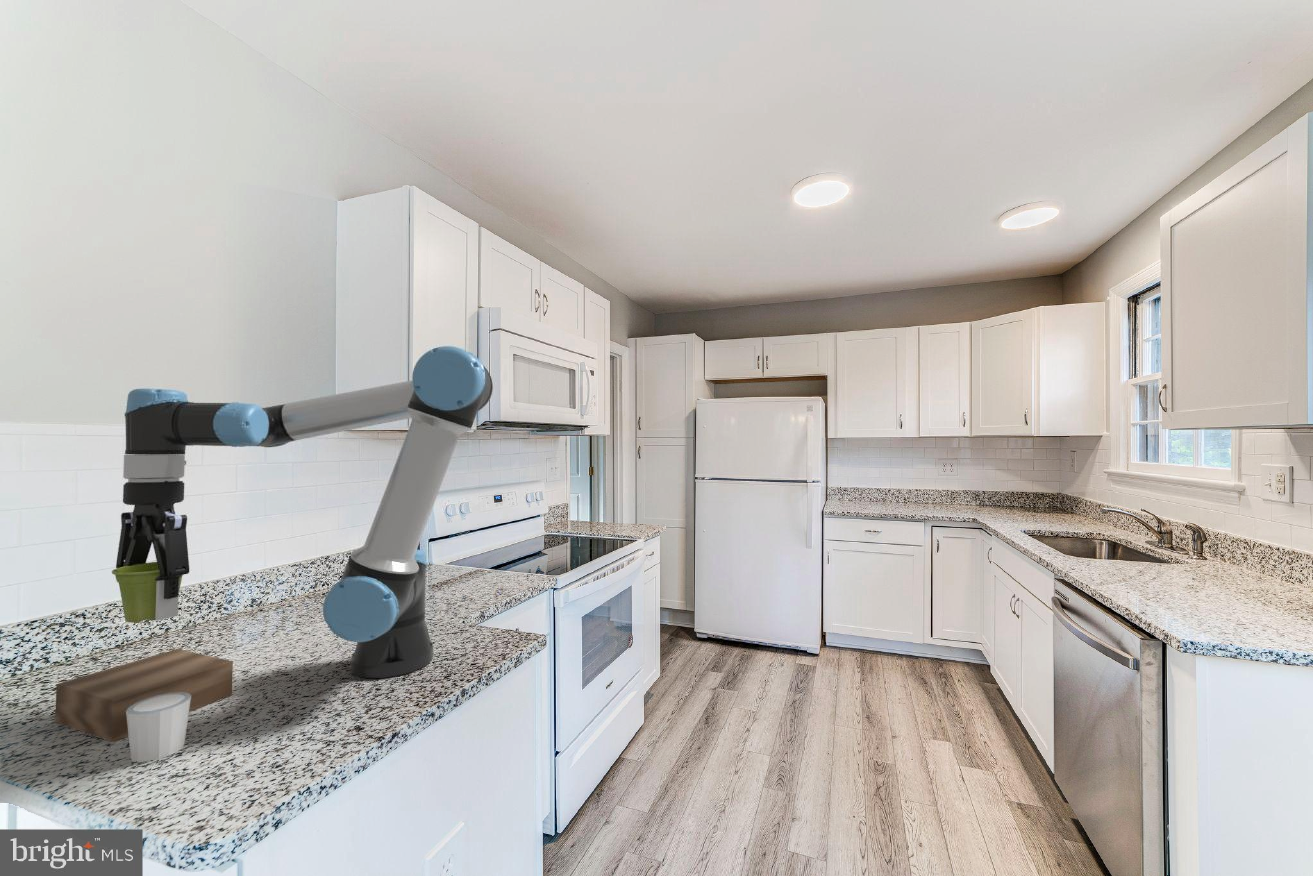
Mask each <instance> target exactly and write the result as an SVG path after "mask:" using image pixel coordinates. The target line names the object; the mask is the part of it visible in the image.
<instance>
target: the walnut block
mask: <svg viewBox="0 0 1313 876" xmlns="http://www.w3.org/2000/svg"><path fill="white" fill-rule="evenodd" d="M233 664H234V661H232V660H228V659H224V658H220V657H215V656H212V655H211V656H210V655H206V654H201V653H197V652H192V651H189V650H183V649H178V648H176V649H173V650H169V651H165V652H162V653H158V654H155V655H152V656H148V657H145V658H142V659H137V660H134V661H131V662H128V663H127V662H126V663H124V664H121V665H117V666H114V667H111V668H107V669H104V670H103V669H102V670H100V671H97V672H93V673H91V674H90V673H89V674H87V675H83V676H79V677H77V678H74V679H73V678H72V679H70V680H66V681H63V682H59V683H56V686H55V689H56V690H55V717H54V723H57V724H60V725H62V726H64V727H65V726H66V727H68V728H71V729H74V730H77V731H79V732H82V733H86V734H88V735H92V736H95V737H97V736H98V737H97V738H101V739H103V738H105V739H104V740H106V739H107V741H109V740H110V741H109V742H112V743H115V742H117V741H119V739H120V740H121V738H122V739H124V738H127V737H129V735H128V725H127V715H126V711H127V709H128V708H129V707H130V706H132V705H133V704H135V703H137V702H139V701H142V700H144V699H147V698H150V697H154V696H157V695H162V694H167V693H176V692H185V693H189V694H190V695H191V701H190V708H189V713H191V712H193V711H195V710H199V709H200V708H204V707H206V706H208V704H209V705H210V704H213V703H216V702H219V701H221V700H223V699H226V698H225V697H227V698H228V697H229V698H230V697H231V695H232V696H233V672H234V671H233V669H234V667H233V666H234V665H233ZM220 699H221V700H220ZM218 700H219V701H218ZM114 741H115V742H114Z"/></svg>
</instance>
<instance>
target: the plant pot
mask: <svg viewBox="0 0 1313 876" xmlns="http://www.w3.org/2000/svg"><path fill="white" fill-rule="evenodd" d="M159 572H160V570H159V568H158V564H157V561H152V562H146V563H144V564H136V565H132V566H124V567H120V568H115V569H113V570H111V574H112V575H114V577H115V580H116V583H118V586H119V591H120V597H121V603H122V609H123V611H124V614H123V616H124V620H125V622H126V623H132V624H137V623H141V622H144V621H151V622H153V621H156V620H155V614H156V583H157V581H156V580H155V578H157V577H159V576H160V573H159ZM182 579H183V575H182V576H181V577H179V591H180V589H181V584H182Z"/></svg>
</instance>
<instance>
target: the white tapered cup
mask: <svg viewBox="0 0 1313 876" xmlns="http://www.w3.org/2000/svg"><path fill="white" fill-rule="evenodd" d="M190 701H191V695H190V694H189V693H185V692H176V693H167V694H162V695H157V696H154V697H150V698H147V699H144V700H142V701H139V702H137V703H135V704H133V705H132V706H130V707H129V708H128V709H127V711H126V715H127V725H128V735H129V736H128V743H129V755H130V760H131V759H132V760H133V761H137V762H136V763H143V762H142V761H149V762H151V761H150V760H153V761H157V760H160V759H159V758H161V759H163V758H166V757H169V756H171V755H173V754H175V753H177V752H178V751H180V750H181V749H182V748H184V745H185V742H186V736H187V729H188V728H187V727H188V722H189V721H188V720H189V715H190V712H189V708H190ZM156 759H157V760H156ZM132 760H131V761H132ZM133 761H132V762H133Z"/></svg>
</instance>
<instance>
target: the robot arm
mask: <svg viewBox="0 0 1313 876" xmlns="http://www.w3.org/2000/svg"><path fill="white" fill-rule="evenodd" d="M411 377H412V378H411V379H412V380H408V381H401V382H396V383H392V384H386V385H380V386H375V387H369V388H363V389H359V390H352V391H349V392H343V393H337V394H332V395H331V394H330V395H327V396H320V397H315V398H310V399H304V400H299V401H294V402H288V403H284V404H278V405H272V406H266V407H261V406H260V405H258V404H256V403H246V402H234V401H233V402H194V401H193V402H192V401H189V400H188V396H187V395H188V394H187V393H186V392H184V391H181V390H174V389H163V388H162V389H160V388H134V389H132V390H130V391H129V393H128V394H127V399H126V401H127V402H126V409H125V412H124V418H125V449H124V454H123V474H122V475H123V476H122V478H124V479H125V480H128V481H126V482H125V483H124V484H123V488H122V491H123V492H122V503H123V504H124V505H127V506H134V507H133V511H128V512H122V513H121V515H120V522H121V529H120V535H119V542H118V548H117V555H116V561H115V562H116V563H115V569H117V568H120V567H124V566H132V565H136V564H144V563H147V560H148V557H149V553H150V551H151V547H152V546H153V547H152V548H153V550H154V551H153V552H154V554H155V560H156V562H157V564H158V568H159V570H160V572H159V573H160V576H159V577H157V578H155V580H156V581H157V583H156V614H155V621H161V620H166V619H169V618H173V617H178V616H179V594H180V590H179V577H181V576H182V577H183V576H184V575H188V574H189V573H190V561H189V559H190V558H189V548H188V537H187V524H188V516H187V514H180V515H179V514H176V512H175V507H174V505H175V504H177V503H182V502H183V501H184V500H185V482H184V481H183V480H180V479H181V478H183V477H185V466H186V465H187V460H186V459H185V458H186V457H185V456H186V447H187V446H192V447H193V446H201V447H202V446H209V447H231V448H232V447H233V448H238V447H239V448H242V447H244V448H245V447H262V448H276V447H281V446H285V445H286V444H289V443H292V442H296V441H299V440H304V439H309V438H315V437H319V436H325V435H330V434H336V433H340V432H346V431H351V430H356V429H361V428H366V427H372V426H378V425H381V424H388V423H393V422H398V421H403V420H407V419H411V422H410V425H409V427H408V430H407V433H406V434H405V436H404V437H405V438H404V440H403V443H402V446H401V448H400V450H399V453H398V456H397V459H396V461H395V463H394V467H393V470H392V471H391V474H390V477H389V480H388V483H387V485H386V488H385V490H384V493H383V495H382V498H381V500H380V504H379V506H378V508H377V511H376V513H375V516H374V519H373V522H372V524H371V526H370V529H369V531H368V534H367V536H366V539H365V542H364V545H362V546H361V547H359V548H357V549H354V550H352V551H351V553H350V556H349V558H348V561H347V563H346V566H345V568H344V571H343V572H342V576H341V578H340V580H338V581H337V582H336V583H335V584H334V585H333V586H332V587H331V588H330V590H329V591H328V592H327V594H326V596H325V597H324V600H323V604H322V614H323V619H324V621H325V623H326V624H327V627H329V630H330V631H331V633H332V634H334V635H336V636H337V637H339V638H340V639H342V640H345V641H348V642H352V643H353V642H354V643H356V644H355V645H356V646H355V650H354V651H353V653H352V656H350V657H351V658H350V672H351V674H352V675H354V676H357V677H360V678H366V679H381V678H382V679H383V678H390V677H396V676H401V675H405V674H408V673H409V674H410V673H412V672H414V671H418V670H420V669H422V668H424V667H426V666H427V665H429V664H430V663H431V662H432V661H433V659H434V644H433V642H432V641H431V637H430V634H429V630H428V627H427V624H426V617H425V615H426V579H427V578H426V575H427V570H426V568H427V561H426V554H425V552H424V551H423V550H421V549H418V547H419V546H420V545H419V544H420V542H421V539H422V537H423V534H424V532H425V528H426V526H427V523H428V520H429V518H430V515H431V514H432V510H433V507H434V505H435V502H436V500H437V497H438V494H439V491H440V488H441V486H442V484H443V481H444V478H445V475H446V473H447V470H448V467H449V464H450V461H451V459H452V456H453V454H454V451H455V448H456V446H457V443H458V440H459V438H460V436H462V435H463V434H465V433H467V432H469V431H471V430H472V428H473V425H474V422H475V419H476V417H477V414H478V412H479V411H480V410H482V409H483V408H484V407H485V406H487V404H488V403H489V401H490V399H491V397H492V395H493V390H494V389H493V388H494V386H493V385H494V384H493V379H492V376H491V374H490V372H489V370H488V369H487V368H486V367H485V366H484V365H483V364H482V362H481V361H480V359H479V358H478V357H477V356H476V355H474V354H473V353H472V352H469V351H467V350H465V349H463V348H461V347H457V346H453V345H452V346H451V345H444V346H442V345H441V346H438V347H434V348H432V349H430V350H428V351H426V352H425V353H423V355H422V356H420V357H419V359H418V360H417V361H416V363H415V364H414V367H413V372H412V376H411ZM123 615H124V610H123Z"/></svg>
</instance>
